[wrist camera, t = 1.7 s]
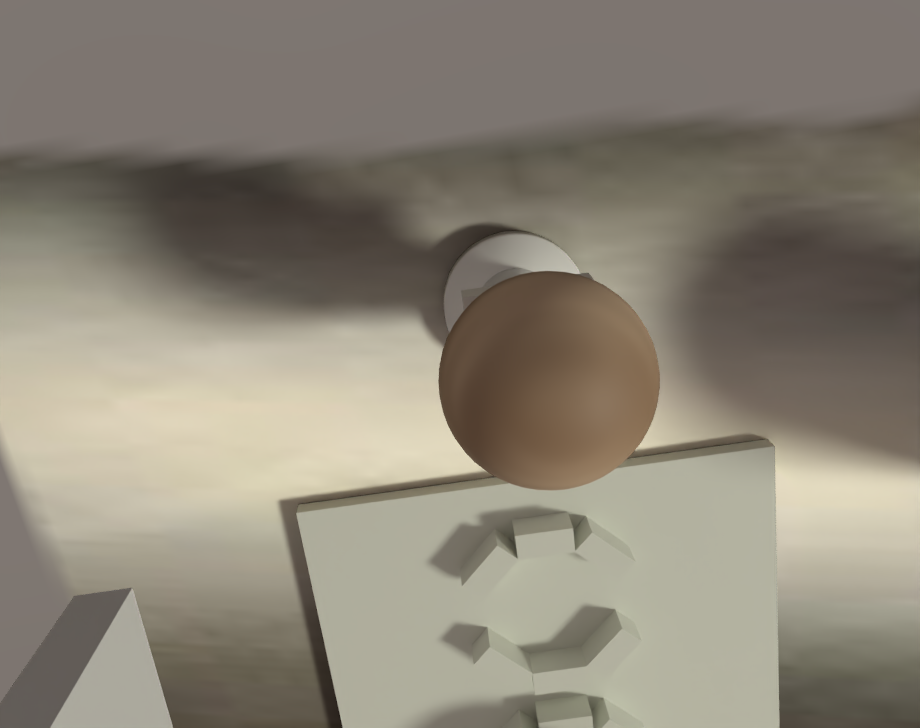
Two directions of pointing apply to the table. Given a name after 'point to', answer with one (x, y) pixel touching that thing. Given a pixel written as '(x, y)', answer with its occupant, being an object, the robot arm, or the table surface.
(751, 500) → the tray
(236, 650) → the table surface
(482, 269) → the egg cup
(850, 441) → the table surface
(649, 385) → the light brown ball
